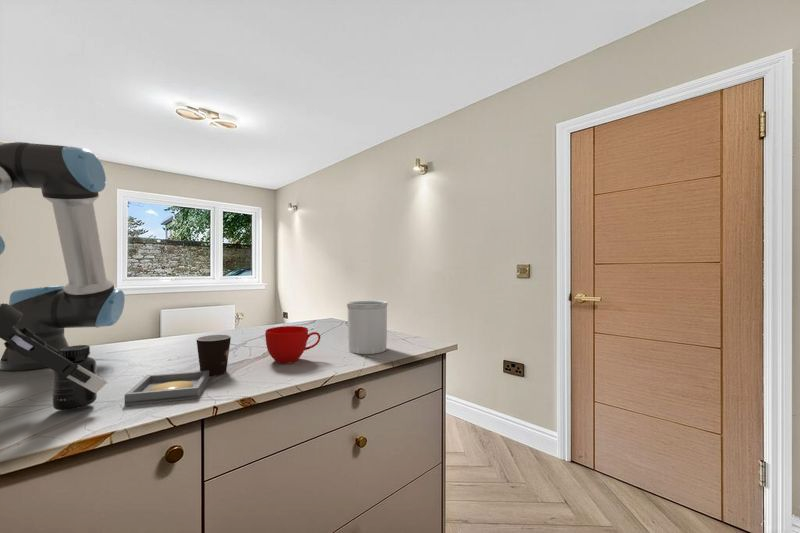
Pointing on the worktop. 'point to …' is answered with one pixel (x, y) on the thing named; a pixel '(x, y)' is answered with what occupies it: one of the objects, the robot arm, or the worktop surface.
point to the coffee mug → (213, 353)
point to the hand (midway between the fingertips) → (96, 383)
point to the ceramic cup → (288, 342)
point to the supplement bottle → (69, 391)
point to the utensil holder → (367, 326)
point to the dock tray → (167, 388)
